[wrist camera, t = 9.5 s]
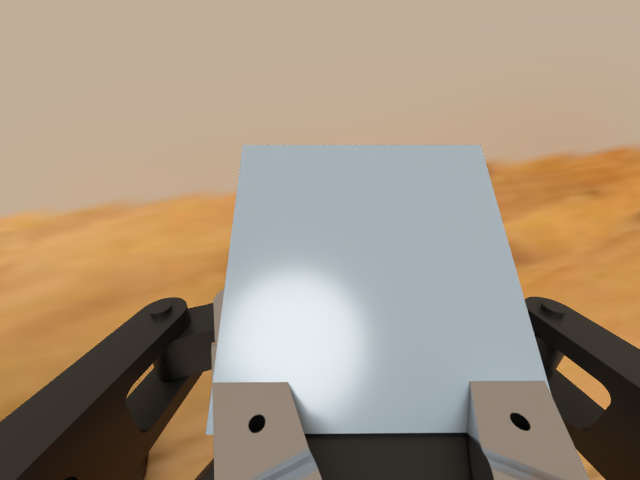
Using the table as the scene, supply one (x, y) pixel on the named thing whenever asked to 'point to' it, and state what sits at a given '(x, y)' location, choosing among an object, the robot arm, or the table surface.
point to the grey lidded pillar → (372, 286)
